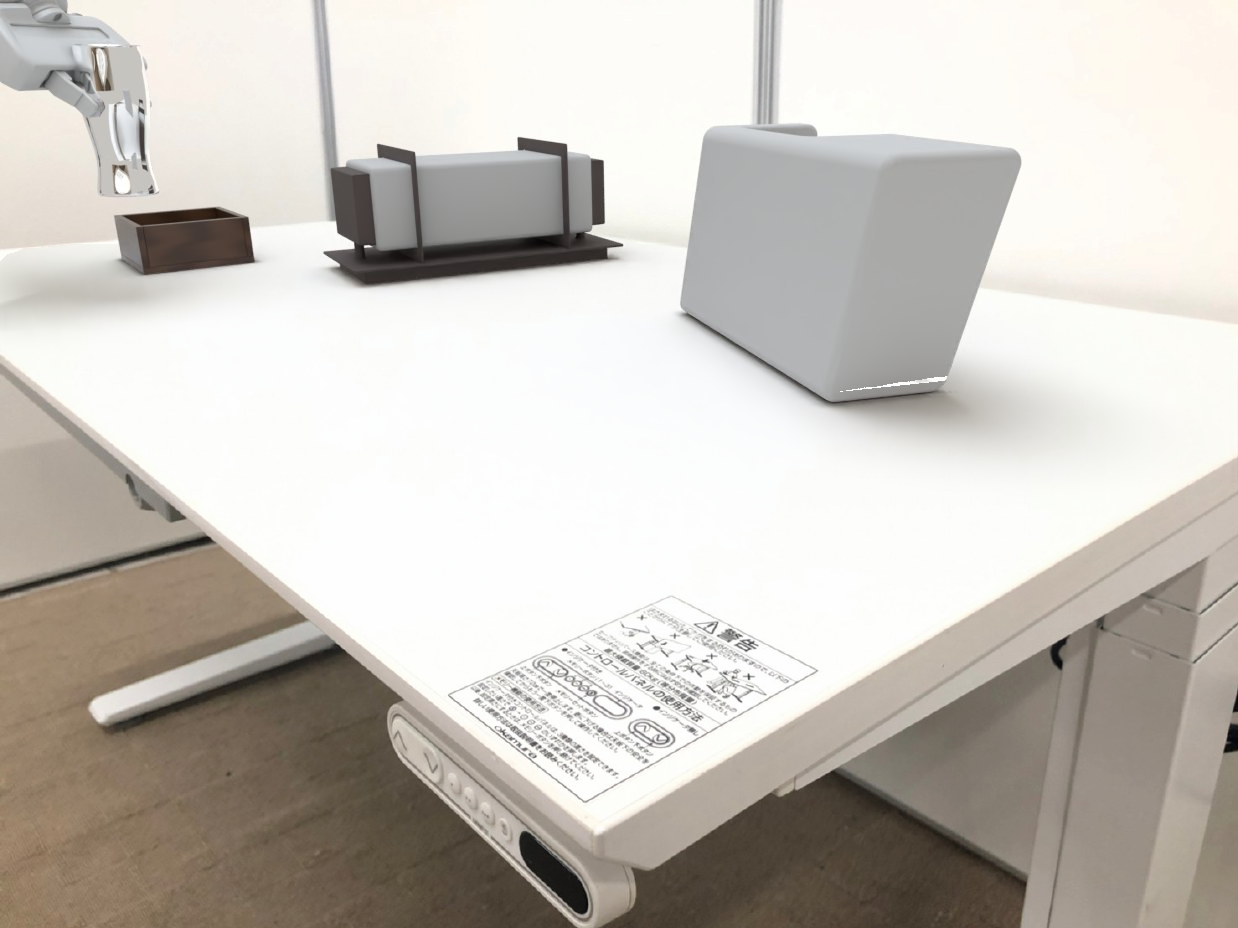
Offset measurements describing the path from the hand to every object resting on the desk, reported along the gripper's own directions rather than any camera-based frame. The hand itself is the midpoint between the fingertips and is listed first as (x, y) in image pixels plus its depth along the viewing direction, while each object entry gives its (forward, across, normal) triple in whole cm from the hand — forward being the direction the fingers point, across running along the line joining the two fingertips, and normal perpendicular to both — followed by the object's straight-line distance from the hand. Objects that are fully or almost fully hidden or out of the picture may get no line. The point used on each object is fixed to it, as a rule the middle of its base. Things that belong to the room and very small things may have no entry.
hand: (121, 111), depth 111 cm
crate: (+8, -21, -20) cm, 30 cm away
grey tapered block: (+65, +16, +38) cm, 77 cm away
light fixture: (+35, -24, +8) cm, 43 cm away
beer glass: (+6, 0, -7) cm, 9 cm away
